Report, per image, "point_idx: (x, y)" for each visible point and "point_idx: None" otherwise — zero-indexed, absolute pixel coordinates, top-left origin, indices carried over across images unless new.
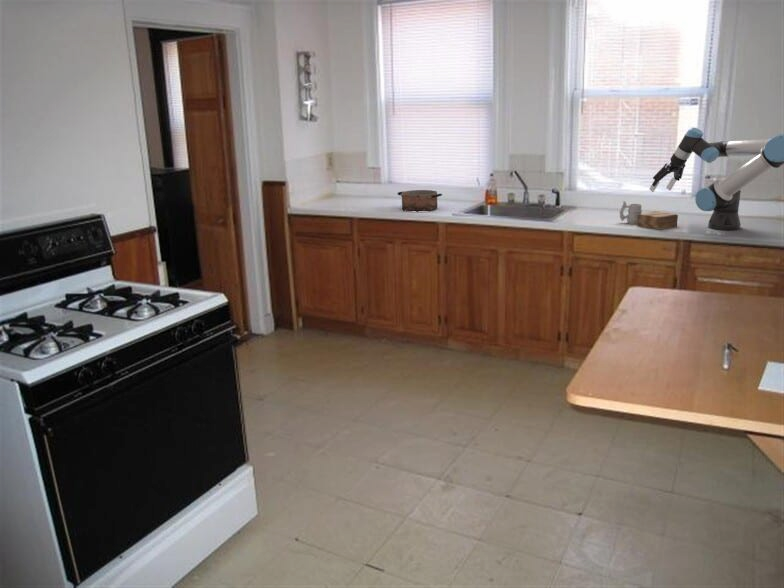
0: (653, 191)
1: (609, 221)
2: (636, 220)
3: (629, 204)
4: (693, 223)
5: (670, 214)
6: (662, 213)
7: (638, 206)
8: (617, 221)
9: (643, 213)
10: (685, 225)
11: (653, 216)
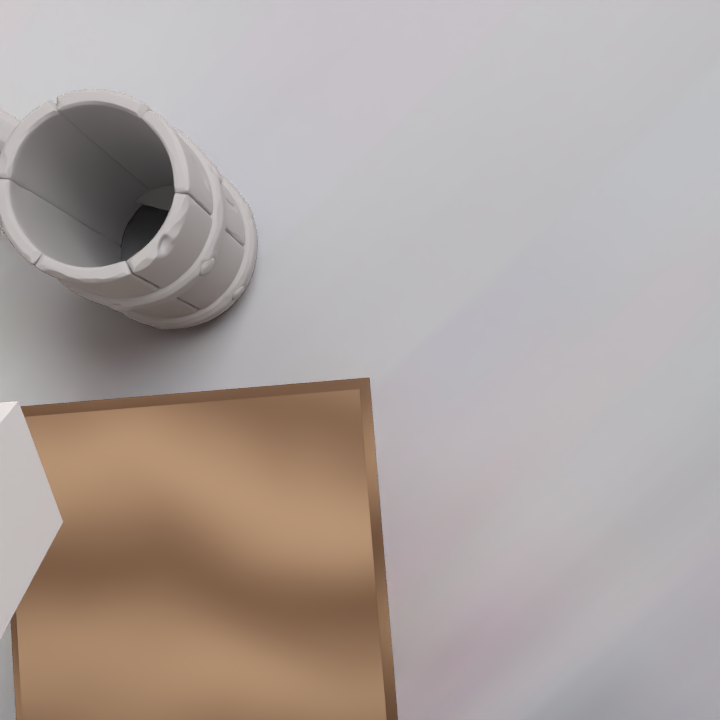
0: (39, 539)
1: (28, 39)
2: (128, 316)
3: (35, 111)
4: (683, 667)
5: (318, 703)
6: (292, 578)
7: (71, 282)
8: (97, 89)
9: (87, 419)
10: (516, 698)
11: (19, 668)
